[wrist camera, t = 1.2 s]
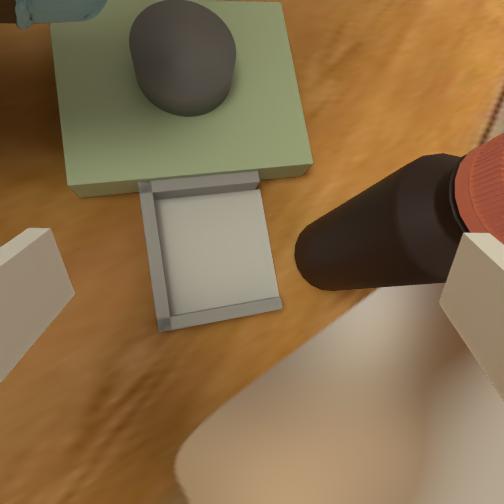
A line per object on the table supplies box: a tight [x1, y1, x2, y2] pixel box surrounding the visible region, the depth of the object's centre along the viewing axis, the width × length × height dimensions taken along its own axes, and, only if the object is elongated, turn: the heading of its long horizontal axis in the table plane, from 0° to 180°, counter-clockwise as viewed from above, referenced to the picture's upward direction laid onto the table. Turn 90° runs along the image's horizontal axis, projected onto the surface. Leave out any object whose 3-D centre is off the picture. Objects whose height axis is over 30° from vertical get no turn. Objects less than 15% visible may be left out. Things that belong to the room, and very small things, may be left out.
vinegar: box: [295, 133, 504, 291], centre depth 22 cm, size 7×7×20 cm
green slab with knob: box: [49, 0, 313, 333], centre depth 27 cm, size 20×28×6 cm
